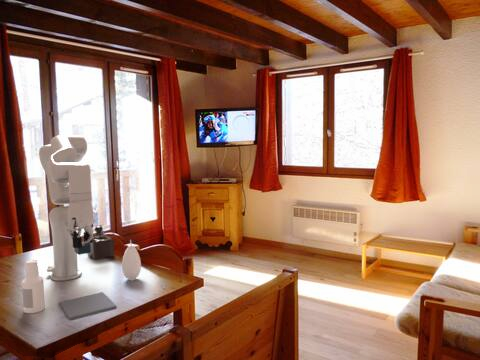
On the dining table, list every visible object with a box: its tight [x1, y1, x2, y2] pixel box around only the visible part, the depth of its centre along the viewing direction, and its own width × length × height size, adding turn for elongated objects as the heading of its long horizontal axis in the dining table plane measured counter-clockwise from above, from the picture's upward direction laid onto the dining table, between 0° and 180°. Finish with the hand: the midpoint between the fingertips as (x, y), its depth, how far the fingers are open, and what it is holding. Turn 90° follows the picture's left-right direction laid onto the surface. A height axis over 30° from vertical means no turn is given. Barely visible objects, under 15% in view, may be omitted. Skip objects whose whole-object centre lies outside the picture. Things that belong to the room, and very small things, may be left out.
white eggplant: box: [121, 239, 142, 281], centre depth 170 cm, size 8×8×18 cm
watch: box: [70, 224, 94, 256], centre depth 144 cm, size 6×8×11 cm
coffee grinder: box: [87, 224, 115, 261], centre depth 203 cm, size 16×11×18 cm
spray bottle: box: [21, 259, 46, 314], centre depth 140 cm, size 7×7×18 cm
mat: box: [58, 291, 117, 320], centre depth 144 cm, size 16×16×1 cm
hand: (83, 244), depth 144 cm, fingers closed on watch, 6 cm apart
